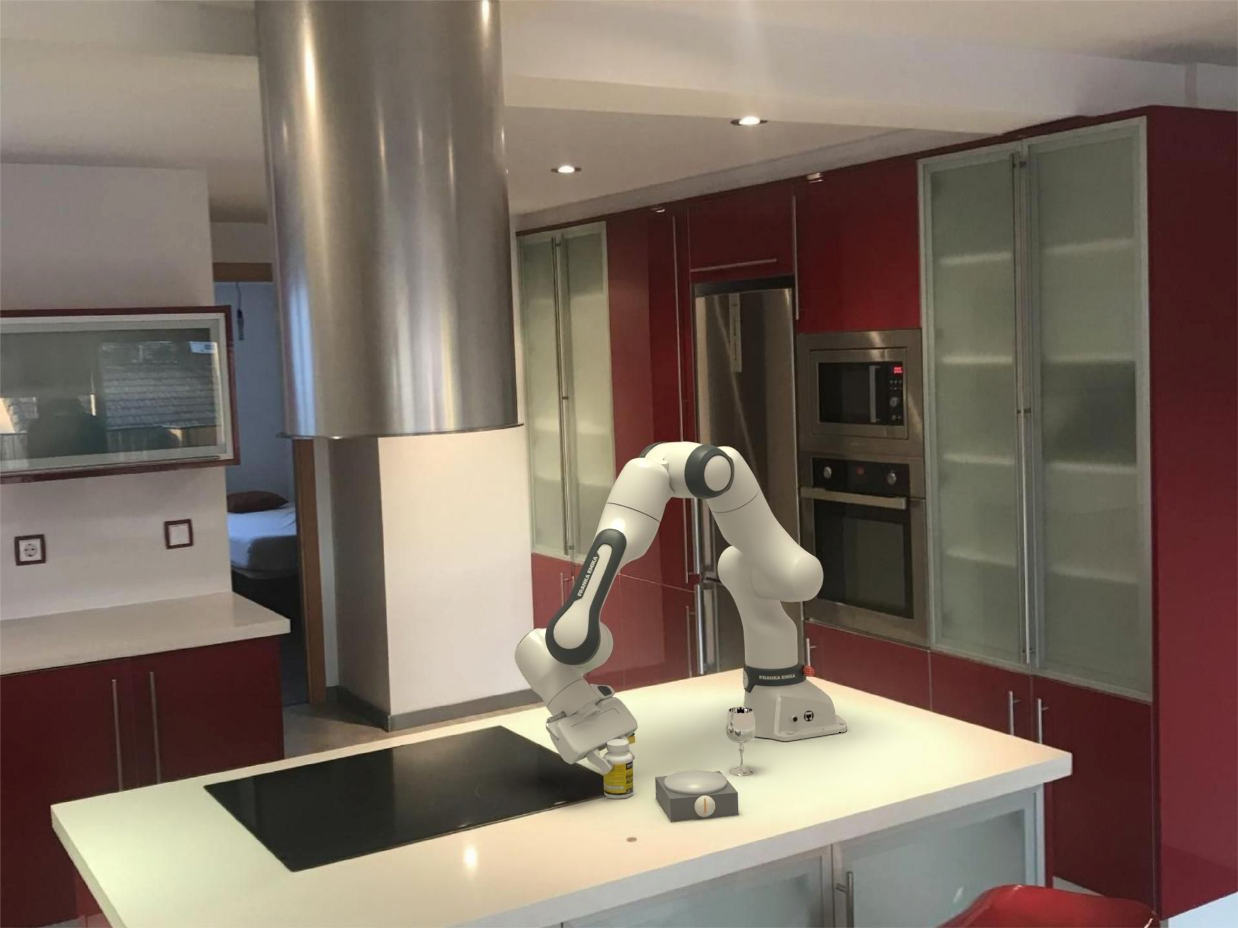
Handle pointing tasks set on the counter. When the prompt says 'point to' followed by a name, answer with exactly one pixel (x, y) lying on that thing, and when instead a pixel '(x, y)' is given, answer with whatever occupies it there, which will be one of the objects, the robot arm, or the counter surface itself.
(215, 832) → the counter surface
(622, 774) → the supplement bottle
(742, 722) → the wineglass
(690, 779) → the kitchen scale
